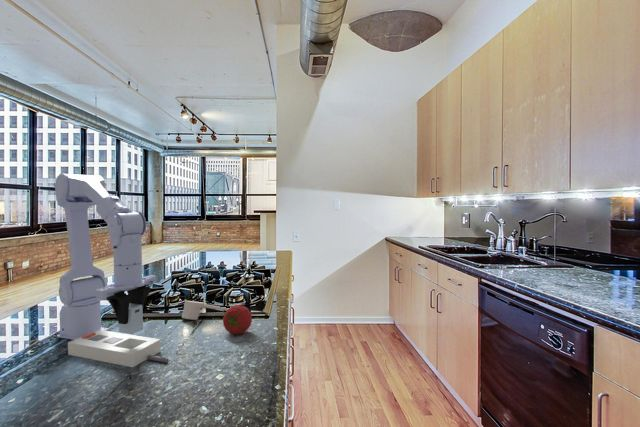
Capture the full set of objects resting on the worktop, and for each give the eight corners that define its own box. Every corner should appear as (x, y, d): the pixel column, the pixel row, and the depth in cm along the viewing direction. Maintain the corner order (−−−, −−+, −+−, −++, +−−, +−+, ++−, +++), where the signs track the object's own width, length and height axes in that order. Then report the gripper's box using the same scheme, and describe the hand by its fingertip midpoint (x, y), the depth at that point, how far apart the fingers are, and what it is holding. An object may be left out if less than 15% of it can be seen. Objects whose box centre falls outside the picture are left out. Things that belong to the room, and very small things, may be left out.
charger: (119, 332, 76) (118, 307, 76) (130, 327, 79) (129, 303, 79) (132, 334, 75) (131, 308, 74) (143, 329, 78) (142, 304, 77)
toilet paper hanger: (246, 308, 109) (211, 306, 95) (243, 324, 108) (207, 324, 94) (203, 300, 118) (165, 296, 105) (200, 314, 117) (161, 312, 104)
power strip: (68, 354, 78) (67, 339, 78) (100, 340, 86) (99, 327, 85) (154, 371, 70) (153, 355, 70) (180, 354, 78) (180, 340, 77)
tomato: (243, 297, 94) (229, 300, 87) (261, 317, 92) (248, 321, 85) (226, 318, 95) (211, 322, 88) (244, 338, 92) (229, 344, 85)
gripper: (112, 271, 68) (114, 334, 69) (165, 259, 82) (166, 312, 82) (88, 269, 70) (90, 330, 71) (143, 257, 84) (144, 309, 85)
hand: (129, 320), depth 77 cm, fingers closed on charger, 3 cm apart
